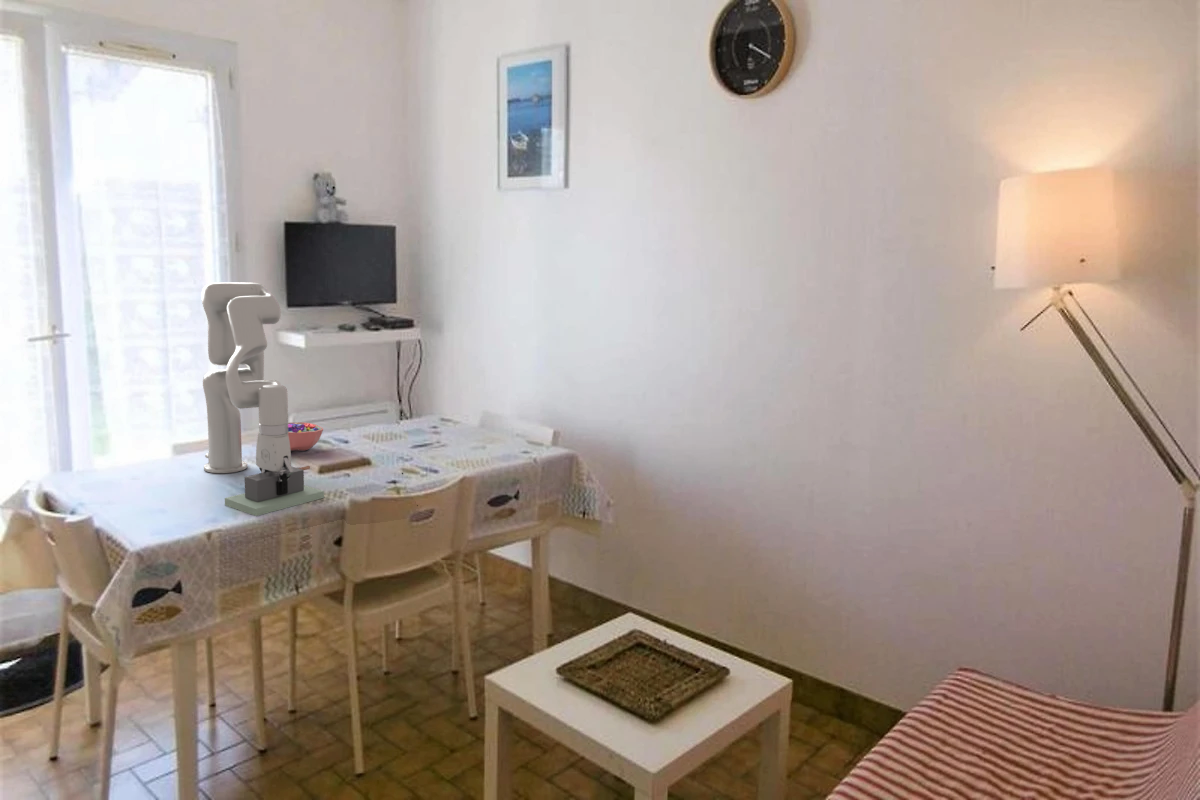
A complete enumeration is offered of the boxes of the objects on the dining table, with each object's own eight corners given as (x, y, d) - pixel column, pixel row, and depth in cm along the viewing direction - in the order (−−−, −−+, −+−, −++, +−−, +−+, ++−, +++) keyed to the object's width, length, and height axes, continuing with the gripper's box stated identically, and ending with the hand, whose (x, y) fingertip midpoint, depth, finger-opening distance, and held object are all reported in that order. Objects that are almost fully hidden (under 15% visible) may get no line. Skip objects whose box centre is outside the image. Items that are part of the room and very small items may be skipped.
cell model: (313, 458, 285) (313, 425, 283) (254, 455, 285) (253, 422, 283) (330, 446, 302) (329, 415, 300) (274, 443, 302) (273, 412, 300)
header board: (224, 505, 234) (224, 482, 233) (292, 488, 252) (292, 466, 251) (256, 516, 226) (255, 492, 225) (323, 497, 244) (323, 475, 243)
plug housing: (245, 497, 234) (244, 476, 233) (303, 483, 250) (302, 463, 249) (257, 502, 231) (257, 480, 230) (315, 487, 247) (315, 467, 246)
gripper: (242, 426, 237) (244, 488, 240) (281, 436, 228) (282, 501, 231) (266, 422, 243) (268, 483, 246) (305, 432, 234) (306, 495, 237)
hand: (275, 491), depth 239 cm, fingers closed on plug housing, 5 cm apart
